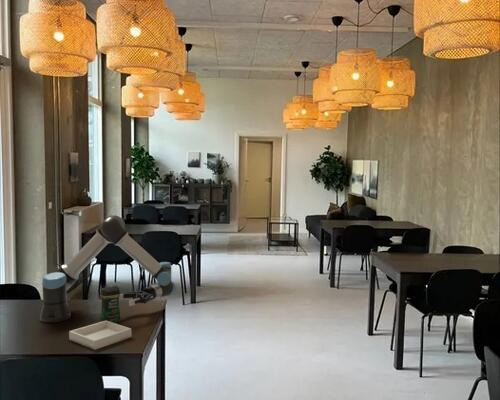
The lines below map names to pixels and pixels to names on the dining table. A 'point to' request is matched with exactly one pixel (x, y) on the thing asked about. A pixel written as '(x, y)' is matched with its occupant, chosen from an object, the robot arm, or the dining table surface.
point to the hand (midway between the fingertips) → (120, 301)
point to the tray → (100, 334)
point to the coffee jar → (110, 304)
